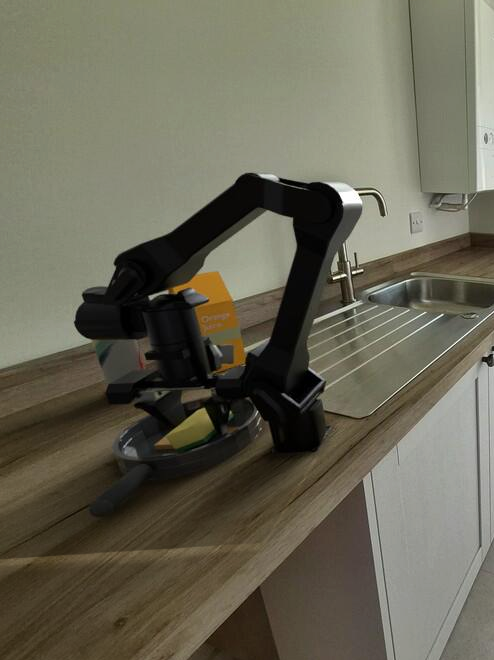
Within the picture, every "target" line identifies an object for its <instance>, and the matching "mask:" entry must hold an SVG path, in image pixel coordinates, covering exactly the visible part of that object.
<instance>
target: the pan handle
mask: <svg viewBox="0 0 494 660" xmlns="http://www.w3.org/2000/svg"><path fill="white" fill-rule="evenodd" d="M152 474H153V469H152V467H151V466H149V465H147V464H141V465H138V466H136V467H134V468H133V469H132V470H131V471H129V472H128V473H127V474H126V475H124V474H123V476H122V477H121V478H119V479H118V480H117V481H116V482H115V483H113V484H112V485H111V486H109V488H107V489H106V490H105V491H104V492H102V493H101V494H100V495H99V496H97V497H96V498H95V499H94V500H93V501H91V503H90V504H89V507H88V513H89V514H90V516H92V517H94V518H103V517H106V516H108V515H110V514H111V513H112V512H113V511H114V510H116V509H117V508H118V507H119V506H120V505H122V503H124V502H125V501H126V500H127V499H128V498H129V497H130V496H132V495H133V494H134V493H135V492H136V491H137V490H138V489H140V487H141V486H143V485H144V484H145V483H146V482H147V481H148V479H149V478H150V477H151V476H152Z"/></svg>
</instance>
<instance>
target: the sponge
mask: <svg viewBox="0 0 494 660" xmlns="http://www.w3.org/2000/svg"><path fill="white" fill-rule="evenodd" d="M233 416H234V415H233V414H232V413H231V411H230V414H229V419H228V421H229V420H230V419H231V418H232V417H233ZM216 432H217V431H216V430H215V428H214V426H213V424H212V422H211V420H210V418H209V416H208V414H207V412H206V410H205V408H202V409H200V410H197V411H196V412H195V413H194V414H192V415H191V416H190V417H189V418H187V419H186V420H185V421H184V422H182V423H181V424H180V425H179V426H177V427H176V428H175V429H174V430H172V431H171V432H170V433H169V434H167V435H166V436H165V437H166V438H167V440H168V441H169V442H170V443H171V445H172V446H173V447H174V448H175V449H176V451H177V452H178V453H179V452H182V451H184V450H187V449H189V448H192V447H195V446H197V445H200V444H203V443H205V442H207V441H208V440H209V439H210V438H211V437H212V436H213V435H214V434H215V433H216Z"/></svg>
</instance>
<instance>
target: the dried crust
mask: <svg viewBox="0 0 494 660" xmlns="http://www.w3.org/2000/svg"><path fill="white" fill-rule="evenodd" d="M154 447H155V450H160V449H175V448H174V447H173V446H172V445H171V443H170V442H169V441H168V440H167V438H166V437H164V438H162V439H161V440H160V441H159V442H157V443H156V444H155V445H154Z"/></svg>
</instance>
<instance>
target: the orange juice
mask: <svg viewBox="0 0 494 660" xmlns="http://www.w3.org/2000/svg"><path fill="white" fill-rule="evenodd" d="M187 288H193V289H194V290H195V291H196V292H198V293H200V294H202V295H204V296H206V297H208V298H209V302H208V303H205V304H202V305H200V306H197V307H195V311H196V315H197V318H198V322H199V326H200V330H201V333H202V337H209V338H210V339H211V340H212V344H213V345H227V344H234V364H227V363H225V364H221V365H222V368H221V369H219V370H218V371H214V372H212V374H213V375H215V374H217V373H219V372H223V371H225V370H230V369H232V368H234V367H235V366H243V365H245V360H246V356H247V354H246V351H245V348H244V342H243V339H242V333H241V329H240V325H239V322H238V317H237V311H236V309H235V305H234V300H233V298H232V296H231V294H230V292H229V290H228V288H227V286H226V283H225V282H224V280H223V279H222V276H221V275H220V273H219V271H218V270H216V271H209V272H202V273H197V274H196V275H195V276H194V277H193V278H192V280H191V281H189V282H188V283H186V284H184V285H180V286H177V287H174V288H171V289H169V290H167V291H168V293H167V294H177V293H178V291H181V290H184V289H187Z"/></svg>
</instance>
